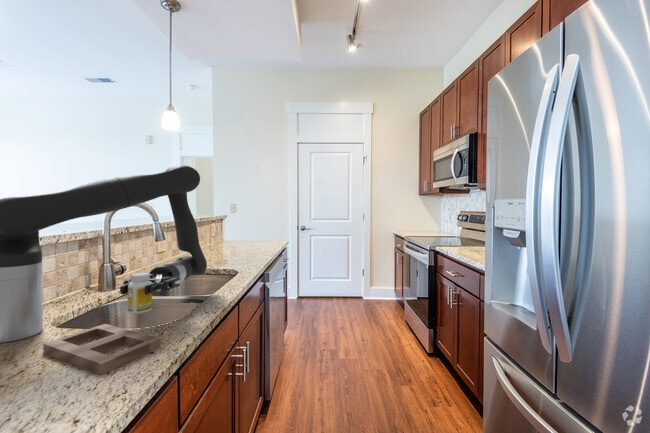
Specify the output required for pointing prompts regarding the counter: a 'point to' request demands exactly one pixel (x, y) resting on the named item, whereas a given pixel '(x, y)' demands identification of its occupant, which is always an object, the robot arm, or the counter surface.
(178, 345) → the counter surface
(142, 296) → the supplement bottle
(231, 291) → the counter surface
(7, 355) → the counter surface
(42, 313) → the robot arm
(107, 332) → the brown flat two-opening frame
